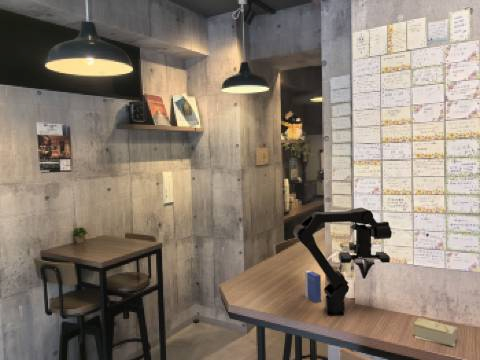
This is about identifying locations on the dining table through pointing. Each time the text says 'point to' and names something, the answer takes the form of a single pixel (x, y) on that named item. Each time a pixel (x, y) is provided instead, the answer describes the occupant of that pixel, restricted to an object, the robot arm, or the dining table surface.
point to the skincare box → (435, 331)
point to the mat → (429, 340)
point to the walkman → (313, 286)
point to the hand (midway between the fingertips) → (363, 278)
